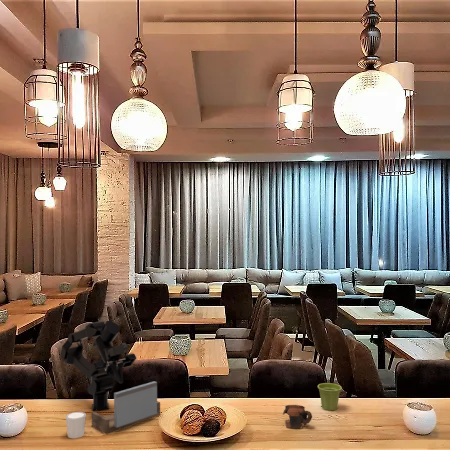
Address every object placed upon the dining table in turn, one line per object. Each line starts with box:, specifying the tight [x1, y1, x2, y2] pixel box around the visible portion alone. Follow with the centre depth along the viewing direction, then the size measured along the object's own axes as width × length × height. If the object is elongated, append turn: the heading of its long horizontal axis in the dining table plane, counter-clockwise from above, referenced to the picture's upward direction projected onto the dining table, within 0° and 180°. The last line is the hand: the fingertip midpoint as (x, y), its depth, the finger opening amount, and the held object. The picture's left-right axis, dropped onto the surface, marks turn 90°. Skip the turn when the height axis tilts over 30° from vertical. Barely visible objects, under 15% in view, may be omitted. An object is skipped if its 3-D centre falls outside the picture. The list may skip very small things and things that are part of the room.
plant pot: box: [317, 382, 343, 411], centre depth 199 cm, size 9×9×9 cm
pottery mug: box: [282, 404, 313, 430], centre depth 183 cm, size 12×10×8 cm
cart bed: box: [91, 400, 161, 435], centre depth 187 cm, size 10×24×5 cm, turn 135°
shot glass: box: [65, 411, 87, 439], centre depth 175 cm, size 7×7×7 cm
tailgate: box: [113, 381, 158, 428], centre depth 183 cm, size 2×18×12 cm, turn 136°
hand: (121, 382), depth 189 cm, fingers closed
